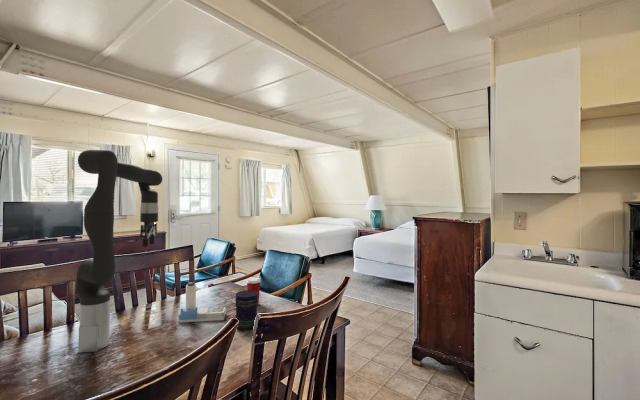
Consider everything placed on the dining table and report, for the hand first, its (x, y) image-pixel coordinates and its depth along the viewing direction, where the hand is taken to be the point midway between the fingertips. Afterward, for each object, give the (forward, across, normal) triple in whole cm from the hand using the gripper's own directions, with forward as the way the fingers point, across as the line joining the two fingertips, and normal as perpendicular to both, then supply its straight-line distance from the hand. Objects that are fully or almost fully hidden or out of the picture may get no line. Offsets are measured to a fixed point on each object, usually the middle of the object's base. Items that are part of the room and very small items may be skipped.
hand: (148, 245), depth 145 cm
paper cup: (+34, +8, -50) cm, 61 cm away
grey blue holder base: (+34, -7, -27) cm, 44 cm away
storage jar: (+34, -20, -48) cm, 62 cm away
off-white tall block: (+33, -7, -21) cm, 40 cm away
